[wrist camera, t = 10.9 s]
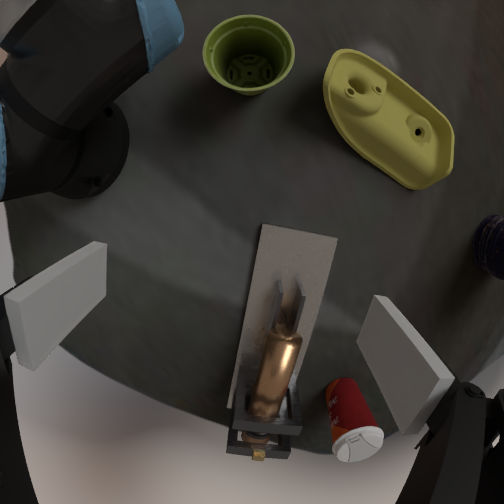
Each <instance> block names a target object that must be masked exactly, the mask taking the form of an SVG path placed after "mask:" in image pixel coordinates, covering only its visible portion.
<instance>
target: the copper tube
mask: <svg viewBox="0 0 504 504" xmlns="http://www.w3.org/2000/svg"><path fill="white" fill-rule="evenodd" d="M302 342H303V339H302V337H301V335H300V334H298V333H297V332H295V331H293V330H291V329H287V328H273V329H270V330H269V331H268V333H267V338H266V342H265V346H264V350H263V354H262V358H261V362H260V366H259V370H258V374H257V378H256V382H255V386H254V389H253V393H252V397H251V401H250V405H249V408H248V412H247V415H255V416H263V417H273V418H277V417H278V414H279V411H280V408H281V405H282V403H283V400H284V397H285V394H286V391H287V388H288V385H289V382H290V379H291V376H292V373H293V370H294V367H295V364H296V361H297V358H298V355H299V352H300V348H301V345H302ZM270 435H271V433H261V432H253V431H245V430H243V431H242V434H241V437H242V440H243V441H245V442H253V443H263V444H267V443H268V441H269V438H270Z"/></svg>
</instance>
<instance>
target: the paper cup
mask: <svg viewBox="0 0 504 504" xmlns="http://www.w3.org/2000/svg"><path fill="white" fill-rule="evenodd" d="M326 401H327V407H328V413H329V419H330V425H331V431H332V438H333V447H332V451H333V453H334V454H335V455H336V456H337V458H338V459H339V460H341V461H343V462H356V461H360V460H363V459H365V458H368V457H370V456H371V455H373V454H375V453H376V452H377V451H378V450H379V449H380V448H381V446H382V443H383V437H384V433H383V431H382V430H381V429H380V428H379V427H378V425H377V423H376V421H375V419H374V417H373V415H372V413H371V411H370V409H369V407H368V405H367V403H366V401H365V399H364V397H363V395H362V393H361V391H360V390H359V388H358V386H357V384H356V382H355V381H354V380H353V379H351V378H346V377H345V378H339V379H336V380H334V381H333V382H331V383H330V384H329V385H328V386H327V388H326Z"/></svg>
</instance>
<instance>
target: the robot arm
mask: <svg viewBox="0 0 504 504" xmlns="http://www.w3.org/2000/svg"><path fill="white" fill-rule="evenodd" d="M183 37H184V24H183V20H182V17H181V14H180V12H179V9H178V7H177V5H176V2H175V0H0V47H1V48H2V49H3V50H5V51H6V52H7V53H9V54H10V55H9V56H8V58H7V59H6V61H5V62H4V63H3V64H2V66H1V67H0V202H3V201H8V200H12V199H16V198H21V197H25V196H30V195H35V194H40V193H45V192H52V193H54V194H57V195H60V196H62V197H65V198H69V199H82V198H87V197H91V196H95V195H97V194H99V193H101V192H103V191H104V190H105V189H107V188H108V187H109V186H110V185H111V184H112V183H113V182H114V181H115V179H116V178H117V177H118V175H119V174H120V172H121V170H122V168H123V166H124V163H125V161H126V157H127V154H128V148H129V130H128V125H127V121H126V119H125V116H124V114H123V113H122V111H121V110H120V108H119V107H118V106H117V105H116V104H115V103H114V102H113V101H114V100H115V99H116V98H117V97H119V96H120V95H121V94H122V93H123V92H124V91H126V90H127V89H128V88H129V87H130V86H132V85H133V84H134V83H135V82H136V81H138V80H139V79H140V78H141V77H143V76H144V75H145V74H146V73H150V72H151V71H152V70H153V69H154V66H155V65H157V64H158V63H159V62H160V61H162V60H163V59H164V58H165V57H167V56H168V55H169V54H170V53H172V52H173V51H174V50H175V49H177V48H178V47H179V45H180V44H181V42H182V40H183ZM106 259H107V244H105V243H100V242H96V241H93V242H92V243H90V244H88V245H86V246H84V247H83V248H81V249H79V250H77V251H76V252H74V253H72V254H70V255H69V256H67V257H65V258H64V259H62V260H60V261H58V262H57V263H55V264H53V265H52V266H50V267H48V268H47V269H45V270H44V271H42V272H40V273H39V274H37V275H35V276H31V277H28V278H27V279H25V280H23V281H22V282H20V284H17V285H15V286H14V288H13V287H12V288H11V289H9V290H8V291H6V292H5V293H3V294H2V295H0V504H39V503H38V501H37V497H36V494H35V492H34V488H33V485H32V482H31V478H30V475H29V471H28V467H27V464H26V459H25V455H24V451H23V446H22V441H21V436H20V431H19V425H18V419H17V412H16V405H15V397H14V386H13V375H12V363H11V359H10V355H11V354H12V353H14V352H16V355H17V359H18V362H19V364H20V365H22V366H24V367H26V368H28V369H30V370H32V371H34V370H36V368H37V367H38V366H39V365H40V364H41V363H42V362H43V360H44V359H45V358H46V357H47V356H48V355H49V354H50V353H51V352H52V351H53V350H54V348H55V347H56V346H57V345H58V344H59V343H60V342H61V341H62V340H63V339H64V338H65V337H66V336H67V335H68V334H69V333H70V331H71V330H72V329H73V328H74V327H75V326H76V325H77V324H78V323H79V322H80V321H81V320H82V319H83V318H84V317H85V316H86V315H87V314H88V313H89V312H90V311H91V310H92V309H93V308H94V307H95V306H96V305H97V304H98V303H99V302H100V301H101V300H102V299H103V298H104V297H105V296H106ZM356 342H357V344H358V346H359V348H360V350H361V352H362V354H363V356H364V358H365V360H366V362H367V364H368V366H369V368H370V370H371V372H372V374H373V376H374V378H375V380H376V382H377V384H378V386H379V388H380V390H381V392H382V394H383V396H384V398H385V400H386V403H387V405H388V407H389V409H390V411H391V413H392V415H393V417H394V419H395V422H396V424H397V426H398V428H399V430H400V432H401V434H402V435H411V434H417V433H418V432H419V431H420V430H421V429H422V427H423V426H424V424H425V423H427V425H428V427H429V430H428V432H427V433H426V434H425V435H424V437H423V438H422V439H421V440H420V442H419V443H418V444H417V445H416V447H415V448H414V449H417V448H418V447H419V446H420V449H419V452H418V454H417V457H416V459H415V462H414V464H413V467H412V469H411V471H410V474H409V476H408V478H407V480H406V483H405V485H404V487H403V489H402V491H401V493H400V495H399V497H398V499H397V501H396V503H395V504H504V389H500V390H499V391H498V393H497V394H496V396H495V397H494V399H491V398H486V397H485V394H484V392H483V391H482V390H481V389H480V388H479V387H478V386H476V385H474V384H472V383H469V382H463V383H461V382H460V381H459V380H458V378H457V377H456V376H455V374H454V373H453V372H452V371H451V369H450V368H449V367H448V366H447V364H446V363H445V362H444V361H442V358H441V357H440V356H439V355H438V353H437V352H435V351H434V350H433V349H432V348H431V347H430V346H429V345H428V344H427V343H426V341H425V340H424V339H423V338H422V337H421V335H420V334H419V333H418V332H417V331H416V330H415V328H414V327H413V326H412V325H411V324H410V323H409V321H408V320H407V319H406V318H405V317H404V316H403V314H402V313H401V312H400V311H399V310H398V309H397V308H396V307H395V305H394V304H393V303H392V302H391V301H390V300H389V299H388V298H387V297H384V296H378V295H374V297H373V299H372V302H371V305H370V308H369V310H368V313H367V316H366V318H365V321H364V324H363V326H362V329H361V331H360V334H359V336H358V339H357V341H356ZM499 434H500V439H499V442H498V443H497V445H496V446H495V447H494V448H493V446H492V443H493V441H494V440H495V439H496V438H497V437H498V435H499Z"/></svg>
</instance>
